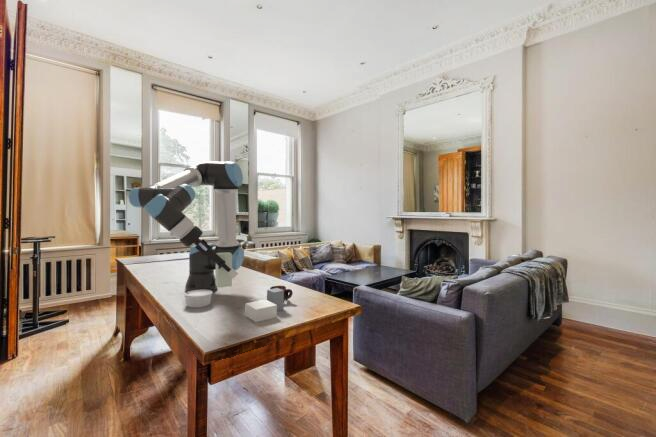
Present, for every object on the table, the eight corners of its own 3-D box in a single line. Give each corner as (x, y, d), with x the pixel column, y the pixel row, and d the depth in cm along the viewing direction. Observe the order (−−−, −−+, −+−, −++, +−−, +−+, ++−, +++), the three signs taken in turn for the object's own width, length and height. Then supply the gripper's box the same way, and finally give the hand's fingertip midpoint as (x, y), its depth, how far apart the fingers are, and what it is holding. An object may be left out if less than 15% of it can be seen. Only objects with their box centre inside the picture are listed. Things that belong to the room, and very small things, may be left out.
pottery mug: (264, 304, 134) (264, 286, 137) (274, 308, 142) (274, 291, 146) (289, 300, 131) (288, 282, 135) (297, 304, 139) (297, 286, 143)
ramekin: (185, 301, 134) (186, 290, 133) (212, 299, 137) (212, 288, 137) (182, 310, 123) (183, 297, 123) (212, 307, 127) (212, 295, 127)
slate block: (266, 308, 127) (267, 289, 127) (276, 306, 131) (277, 287, 131) (273, 311, 124) (273, 292, 124) (283, 309, 127) (283, 290, 127)
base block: (245, 315, 119) (245, 303, 119) (265, 311, 125) (265, 299, 124) (255, 322, 112) (256, 309, 112) (276, 317, 118) (277, 305, 118)
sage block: (215, 284, 114) (215, 252, 113) (228, 283, 116) (229, 252, 116) (217, 287, 109) (218, 254, 109) (231, 286, 112) (232, 254, 111)
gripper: (177, 237, 112) (222, 276, 121) (180, 242, 97) (231, 287, 105) (192, 223, 115) (235, 262, 124) (198, 226, 99) (247, 271, 108)
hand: (233, 274), depth 114 cm, fingers closed on sage block, 5 cm apart
